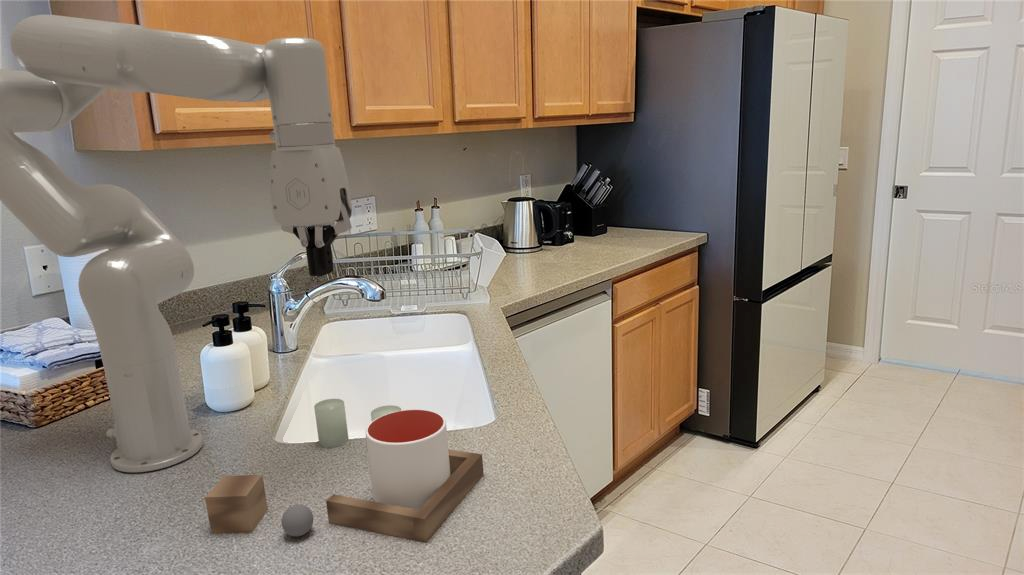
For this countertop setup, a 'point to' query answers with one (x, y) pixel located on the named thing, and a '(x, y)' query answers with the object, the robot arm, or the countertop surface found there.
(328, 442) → the jar
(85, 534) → the countertop surface
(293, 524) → the grey ball
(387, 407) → the jar
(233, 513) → the walnut block
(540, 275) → the countertop surface
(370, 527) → the bay
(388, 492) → the cup
